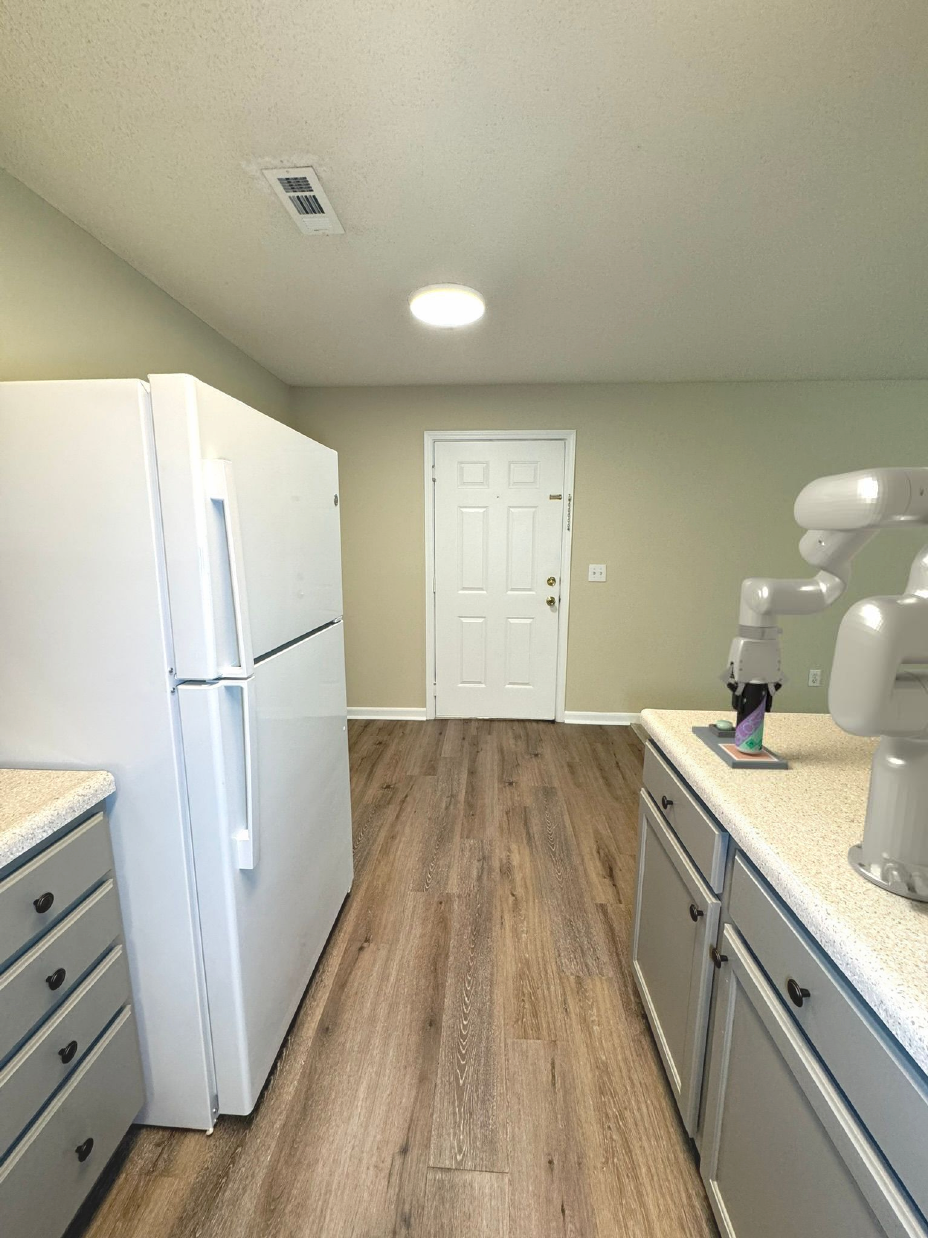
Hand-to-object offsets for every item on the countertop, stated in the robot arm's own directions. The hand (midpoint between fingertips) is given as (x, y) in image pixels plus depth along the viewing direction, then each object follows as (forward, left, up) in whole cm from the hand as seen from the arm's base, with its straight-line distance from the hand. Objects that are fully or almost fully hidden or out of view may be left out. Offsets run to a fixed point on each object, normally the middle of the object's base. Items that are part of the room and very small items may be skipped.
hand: (751, 709), depth 113 cm
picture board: (+5, +3, -12) cm, 13 cm away
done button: (+10, +6, -9) cm, 15 cm away
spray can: (0, 0, -10) cm, 10 cm away
